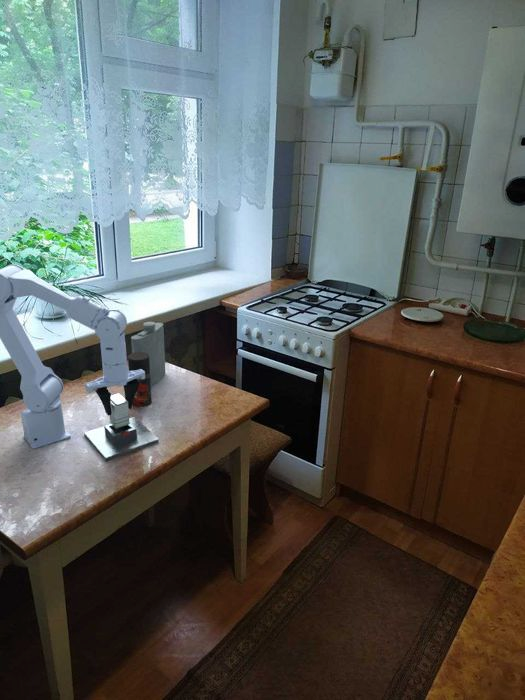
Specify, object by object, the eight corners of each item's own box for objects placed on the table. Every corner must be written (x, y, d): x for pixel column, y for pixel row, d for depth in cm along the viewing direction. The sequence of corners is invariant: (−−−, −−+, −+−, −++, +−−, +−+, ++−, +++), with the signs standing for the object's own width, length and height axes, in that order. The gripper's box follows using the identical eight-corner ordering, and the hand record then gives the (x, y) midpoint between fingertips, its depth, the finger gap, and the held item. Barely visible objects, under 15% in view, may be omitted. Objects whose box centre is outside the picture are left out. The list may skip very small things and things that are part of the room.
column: (117, 429, 123) (115, 404, 120) (108, 421, 127) (106, 396, 124) (131, 425, 125) (129, 400, 122) (122, 416, 129) (120, 392, 126)
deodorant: (154, 398, 148) (151, 352, 143) (148, 408, 143) (145, 360, 137) (135, 397, 149) (131, 351, 143) (128, 406, 143) (124, 359, 138)
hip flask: (158, 371, 167) (156, 314, 159) (169, 373, 166) (167, 316, 158) (132, 391, 153) (128, 330, 145) (144, 393, 152) (140, 332, 144)
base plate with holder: (105, 461, 118) (104, 448, 117) (84, 435, 128) (83, 424, 127) (158, 442, 127) (158, 430, 125) (134, 419, 137) (133, 408, 135)
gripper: (91, 373, 112) (96, 425, 117) (149, 359, 121) (152, 408, 126) (80, 363, 117) (85, 413, 122) (136, 350, 126) (140, 398, 131)
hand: (118, 410), depth 124 cm, fingers open, 5 cm apart
